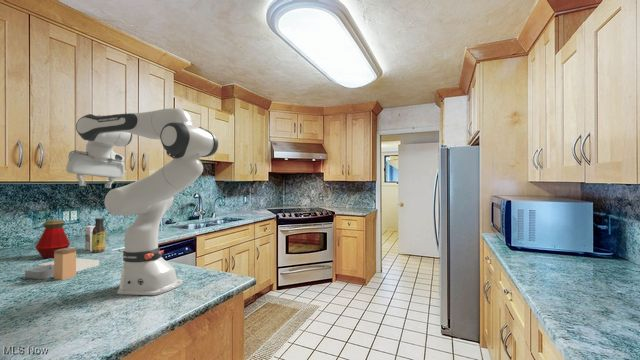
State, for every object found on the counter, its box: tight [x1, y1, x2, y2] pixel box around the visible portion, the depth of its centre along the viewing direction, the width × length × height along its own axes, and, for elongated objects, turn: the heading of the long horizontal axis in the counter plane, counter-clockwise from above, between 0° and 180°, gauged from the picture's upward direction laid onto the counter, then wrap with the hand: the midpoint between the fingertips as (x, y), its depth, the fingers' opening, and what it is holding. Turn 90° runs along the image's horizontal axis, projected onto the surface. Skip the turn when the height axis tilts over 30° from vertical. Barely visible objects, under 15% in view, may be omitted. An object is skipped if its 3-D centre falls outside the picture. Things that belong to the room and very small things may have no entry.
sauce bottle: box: [91, 217, 107, 254], centre depth 161 cm, size 7×6×20 cm
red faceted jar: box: [35, 219, 71, 259], centre depth 151 cm, size 16×14×20 cm
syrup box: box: [84, 224, 95, 252], centre depth 168 cm, size 6×6×14 cm
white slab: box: [24, 257, 100, 280], centre depth 127 cm, size 20×22×3 cm
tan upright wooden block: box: [53, 247, 77, 281], centre depth 117 cm, size 5×5×12 cm
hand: (95, 187), depth 114 cm, fingers open, 8 cm apart
